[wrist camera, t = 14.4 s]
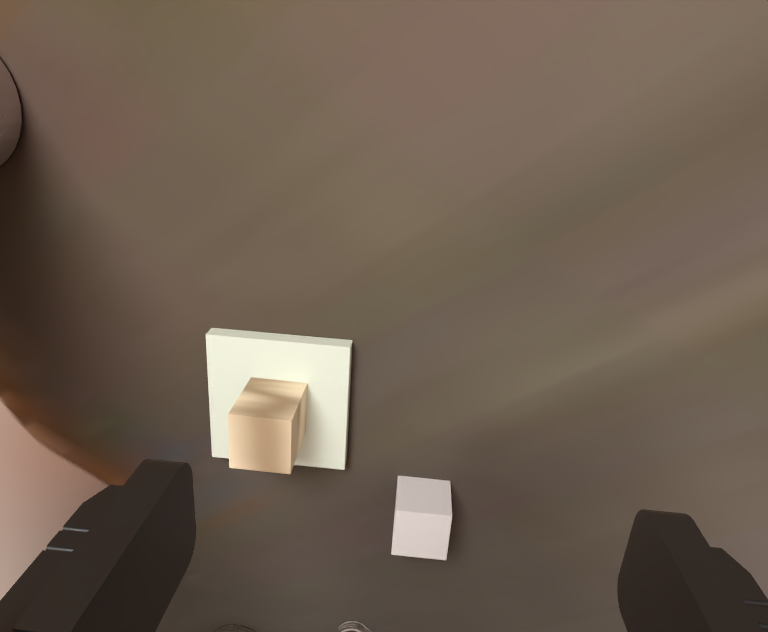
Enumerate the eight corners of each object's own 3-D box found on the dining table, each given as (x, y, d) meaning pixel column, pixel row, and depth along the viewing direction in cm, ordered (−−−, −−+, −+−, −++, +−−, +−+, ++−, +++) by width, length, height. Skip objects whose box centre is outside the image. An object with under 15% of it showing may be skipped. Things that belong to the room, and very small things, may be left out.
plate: (217, 447, 44) (212, 456, 43) (212, 327, 40) (205, 334, 39) (346, 460, 44) (344, 469, 42) (352, 340, 40) (350, 347, 39)
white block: (394, 516, 45) (391, 554, 42) (398, 475, 44) (395, 510, 40) (444, 522, 45) (446, 560, 41) (450, 480, 44) (452, 516, 40)
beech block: (251, 426, 42) (229, 467, 37) (251, 377, 40) (228, 413, 36) (305, 431, 41) (290, 474, 37) (307, 382, 40) (291, 420, 35)
